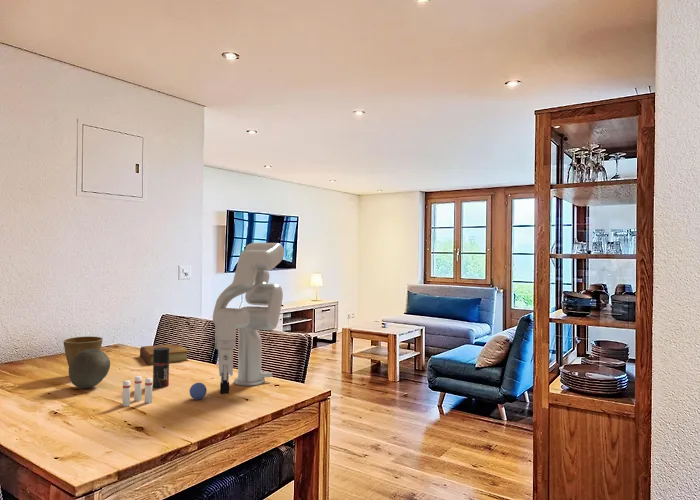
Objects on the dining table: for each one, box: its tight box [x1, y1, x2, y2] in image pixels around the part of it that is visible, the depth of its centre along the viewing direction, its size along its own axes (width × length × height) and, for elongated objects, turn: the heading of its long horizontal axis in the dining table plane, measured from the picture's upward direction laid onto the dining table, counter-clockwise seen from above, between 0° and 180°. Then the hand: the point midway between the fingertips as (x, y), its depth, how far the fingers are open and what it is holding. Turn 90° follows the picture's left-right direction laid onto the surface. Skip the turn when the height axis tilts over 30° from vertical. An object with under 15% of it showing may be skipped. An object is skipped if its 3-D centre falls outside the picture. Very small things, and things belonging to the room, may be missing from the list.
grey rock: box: [68, 349, 111, 390], centre depth 192 cm, size 14×14×15 cm
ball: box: [189, 382, 208, 401], centre depth 178 cm, size 6×6×6 cm
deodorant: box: [152, 347, 170, 389], centre depth 196 cm, size 6×6×15 cm
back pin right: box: [133, 375, 143, 402], centre depth 176 cm, size 2×2×8 cm
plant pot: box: [63, 336, 104, 367], centre depth 209 cm, size 15×15×16 cm
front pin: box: [144, 377, 153, 404], centre depth 174 cm, size 2×2×8 cm
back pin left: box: [121, 379, 131, 408], centre depth 170 cm, size 2×2×8 cm
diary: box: [139, 343, 189, 366], centre depth 246 cm, size 23×19×6 cm
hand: (224, 393), depth 181 cm, fingers closed
